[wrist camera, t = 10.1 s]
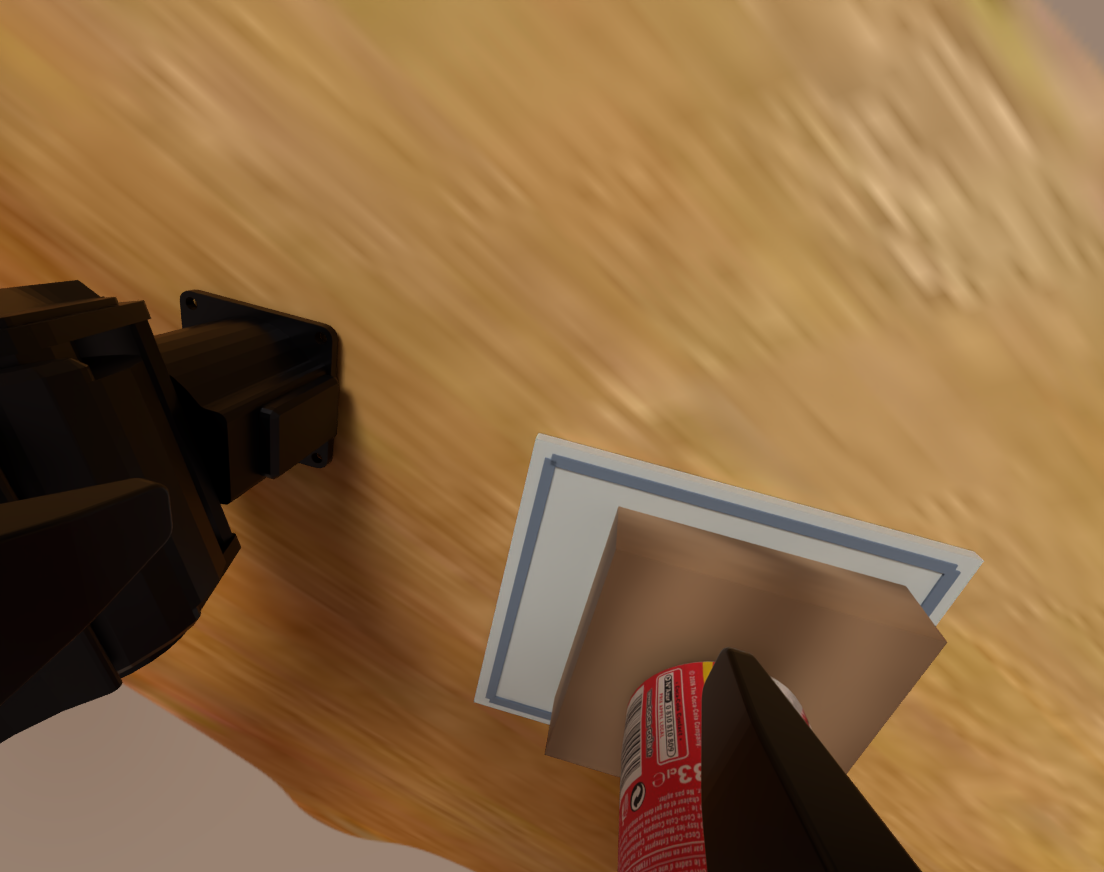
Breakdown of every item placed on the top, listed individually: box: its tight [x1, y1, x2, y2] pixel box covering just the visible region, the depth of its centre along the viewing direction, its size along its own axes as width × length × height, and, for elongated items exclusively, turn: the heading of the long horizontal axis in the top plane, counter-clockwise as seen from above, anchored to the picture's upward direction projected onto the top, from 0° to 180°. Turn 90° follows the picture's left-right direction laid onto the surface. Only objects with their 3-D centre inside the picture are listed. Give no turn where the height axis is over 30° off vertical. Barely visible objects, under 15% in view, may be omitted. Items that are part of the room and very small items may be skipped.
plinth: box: [545, 506, 947, 777], centre depth 22 cm, size 12×12×3 cm
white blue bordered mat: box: [474, 433, 984, 725], centre depth 24 cm, size 18×16×1 cm
